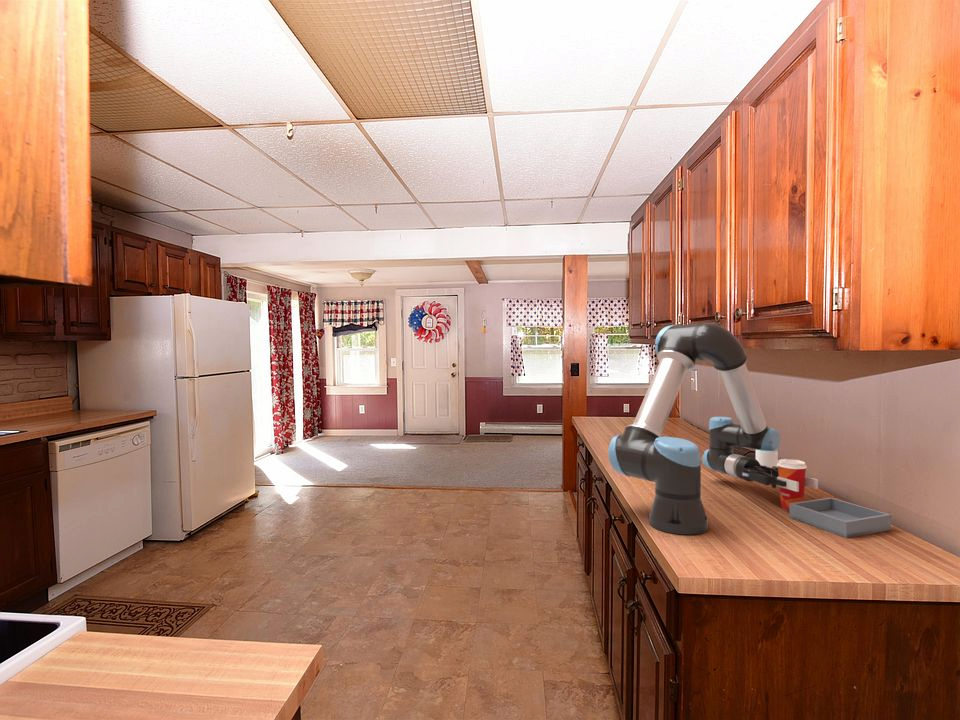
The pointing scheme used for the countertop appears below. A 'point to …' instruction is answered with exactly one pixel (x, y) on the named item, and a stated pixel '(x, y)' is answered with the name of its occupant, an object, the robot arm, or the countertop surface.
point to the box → (840, 517)
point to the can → (767, 458)
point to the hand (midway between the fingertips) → (807, 485)
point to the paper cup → (792, 472)
